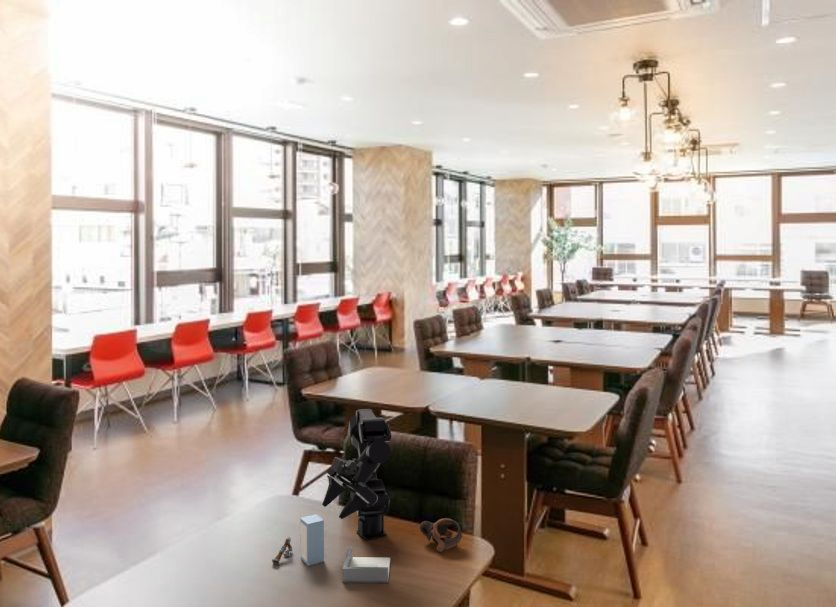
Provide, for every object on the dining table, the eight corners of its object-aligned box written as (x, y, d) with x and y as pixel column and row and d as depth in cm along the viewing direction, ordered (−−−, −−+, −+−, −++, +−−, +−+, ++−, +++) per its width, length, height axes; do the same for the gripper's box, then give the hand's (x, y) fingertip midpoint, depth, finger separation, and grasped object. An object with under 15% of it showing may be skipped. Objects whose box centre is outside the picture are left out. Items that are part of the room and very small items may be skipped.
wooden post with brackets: (296, 547, 177) (292, 535, 175) (281, 572, 171) (277, 560, 169) (290, 546, 178) (286, 534, 176) (275, 571, 172) (271, 559, 169)
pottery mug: (462, 538, 187) (467, 520, 182) (453, 567, 179) (459, 548, 174) (421, 524, 189) (425, 506, 184) (411, 551, 181) (415, 533, 176)
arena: (347, 559, 173) (347, 546, 173) (390, 559, 173) (390, 546, 173) (342, 582, 161) (342, 568, 161) (387, 583, 161) (387, 569, 161)
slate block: (316, 554, 176) (316, 514, 175) (324, 561, 172) (323, 520, 171) (300, 558, 173) (299, 518, 172) (307, 565, 169) (307, 524, 168)
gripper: (332, 437, 183) (296, 484, 178) (367, 456, 168) (328, 508, 163) (357, 459, 188) (322, 505, 183) (393, 479, 173) (356, 531, 168)
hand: (331, 511), depth 174 cm, fingers open, 9 cm apart
